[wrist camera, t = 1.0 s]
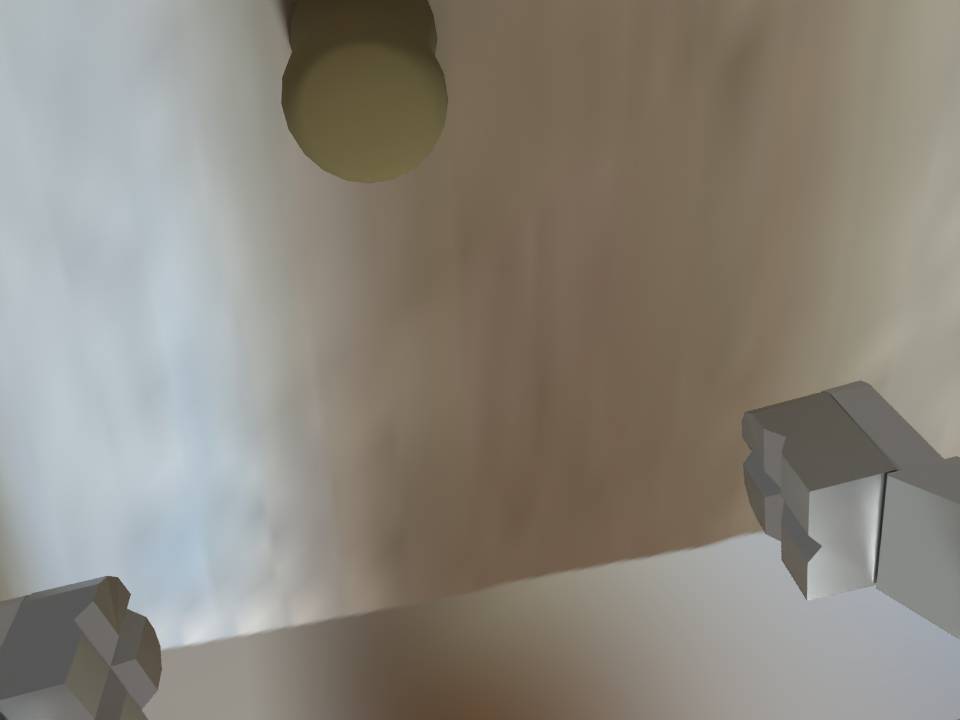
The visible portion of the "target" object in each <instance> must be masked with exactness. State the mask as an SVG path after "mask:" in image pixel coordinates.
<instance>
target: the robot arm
mask: <svg viewBox="0 0 960 720" xmlns="http://www.w3.org/2000/svg"><path fill="white" fill-rule="evenodd" d="M742 438H743V439H744V441H745V442H746V444H747V445H748V447H749V448H750V450H751V451H752V452H751V453H750V455H749V456H748V457H747V459H746V460H745V462H744V463H743V469H744V482H745V487H746V491H747V494H748V498H749V502H750V505H751V507H752V509H753V512H754V514H755V516H756V518H757V520H758V522H759V524H760V525H761V527H762V529H763V530H764V532H765V534H767V535H769V536H771V537H773V538H775V539H777V540H779V541H781V549H782V550H781V552H782V553H781V554H782V561H783V563H784V564H785V566H786V568H787V569H788V571H789V573H790V574H791V576H792V577H793V579H794V581H795V582H796V584H797V585H798V587H799V589H800V590H801V592H802V593H803V595H804V597H805V598H806V600H807V601H809V600H813V599H817V598H822V597H826V596H831V595H835V594H839V593H844V592H848V591H852V590H857V589H861V588H865V587H870V586H874V585H877V586H876V589H878V590H879V591H881V592H883V593H884V594H886V595H888V596H889V597H891V598H893V599H894V600H896V601H897V602H899V603H901V604H902V605H904V606H906V607H907V608H909V609H910V610H912V611H914V612H915V613H917V614H919V615H920V616H922V617H923V618H925V619H927V620H929V621H930V622H932V623H933V624H935V625H937V626H938V627H940V628H941V629H943V630H945V631H946V632H948V633H950V634H951V635H953V636H954V637H956V638H958V639H960V457H957V456H956V457H952V458H947V459H944V458H943V457H942V456H941V455H940V454H939V453H938V452H937V451H936V450H935V449H934V448H933V447H932V446H931V445H930V444H929V443H928V442H927V441H926V440H925V439H924V438H923V437H922V436H921V435H920V434H919V433H918V432H917V431H916V430H915V429H914V428H913V427H912V426H911V425H910V424H909V423H908V422H907V421H906V420H905V419H904V418H903V417H902V416H901V415H900V414H899V413H898V412H897V411H896V410H895V409H894V408H893V407H892V406H891V405H890V404H889V403H888V402H887V401H886V400H885V399H884V398H883V397H882V396H881V395H880V394H879V393H878V392H877V391H876V390H875V389H874V388H873V387H872V386H871V385H870V384H868V383H866V382H863V381H861V380H860V381H857V382H853V383H849V384H846V385H842V386H839V387H835V388H831V389H828V390H824V391H822V392H821V393H815V394H812V395H808V396H804V397H800V398H797V399H793V400H789V401H785V402H781V403H778V404H774V405H770V406H766V407H762V408H759V409H755V410H751V411H747V412H744V416H743V419H742ZM130 595H131V594H130V593H129V591H128V590H127V589H126V587H125V586H124V585H123V583H122V582H121V581H120V579H119V578H118V577H112V576H105V577H100V578H96V579H92V580H88V581H83V582H79V583H75V584H70V585H66V586H62V587H57V588H53V589H49V590H45V591H40V592H36V593H32V594H31V595H27V596H22V597H18V598H14V599H9V600H5V601H1V602H0V720H148V718H147V717H146V715H145V714H144V712H143V710H142V709H143V707H144V706H145V705H146V704H147V703H148V701H149V700H150V699H151V698H152V696H153V695H154V694H155V693H156V692H157V690H158V686H159V681H160V675H161V671H162V666H161V649H160V644H159V641H158V638H157V636H156V633H155V630H154V628H153V627H152V625H151V624H150V622H149V621H148V619H147V618H146V617H145V616H142V615H140V614H138V613H135V612H133V611H131V610H129V609H127V606H128V602H129V599H130ZM958 720H960V719H958Z"/></svg>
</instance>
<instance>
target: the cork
mask: <svg viewBox="0 0 960 720" xmlns="http://www.w3.org/2000/svg"><path fill="white" fill-rule="evenodd" d="M290 44H291V48H292V54H291V56H290V59H289V61H288V64H287V67H286V69H285V72H284V74H283V78H282V102H281V104H282V107H283V111H284V115H285V118H286V122H287V125H288V129H289V131H290V132H291V134H292V135H293V137H294V138H295V140H296V142H297V143H298V145H299V146H300V148H301V149H302V151H303V152H304V154H305V155H306V156H307V157H309V158H310V159H311V160H312V161H313V162H315V163H316V164H317V165H318V166H319V167H320V168H322V169H323V170H324V171H326V172H328V173H331V174H333V175H335V176H337V177H340V178H342V179H344V180H347V181H355V182H363V183H375V182H381V181H386V180H392V179H395V178H397V177H399V176H401V175H403V174H404V173H406V172H408V171H410V170H412V169H414V168H415V167H416V166H417V165H418V164H419V163H420V162H421V161H422V160H423V159H424V158H425V157H426V156H427V155H428V154H429V153H430V152H431V151H432V149H433V148H434V146H435V144H436V142H437V140H438V138H439V135H440V133H441V131H442V129H443V127H444V125H445V118H446V111H447V104H448V96H447V90H446V84H445V78H444V73H443V71H442V69H441V67H440V65H439V63H438V61H437V59H436V57H435V52H436V44H437V35H436V28H435V22H434V16H433V13H432V11H431V9H430V7H429V5H428V3H427V1H426V0H297V1H296V4H295V6H294V9H293V12H292V14H291V22H290Z"/></svg>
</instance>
